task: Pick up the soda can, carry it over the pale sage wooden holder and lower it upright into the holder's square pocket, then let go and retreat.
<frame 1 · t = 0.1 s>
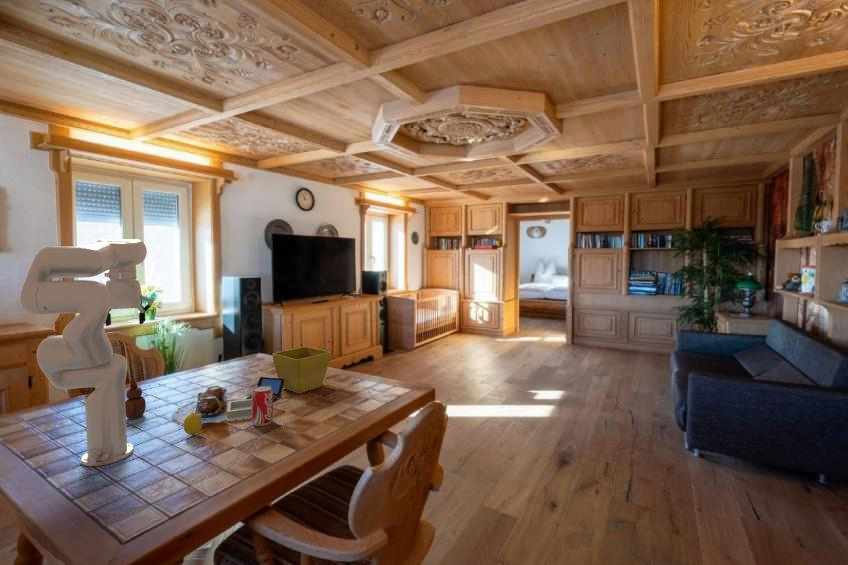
hand: (125, 324, 142), 37 cm above the table, tool pointing down, fingers open, 9 cm apart
flower pot: (302, 388, 186), on the table
lemon: (193, 436, 137), on the table
handheld game console: (265, 398, 174), on the table
soda can: (262, 423, 147), on the table
holder: (243, 413, 156), on the table
wooden figurine: (135, 417, 152), on the table
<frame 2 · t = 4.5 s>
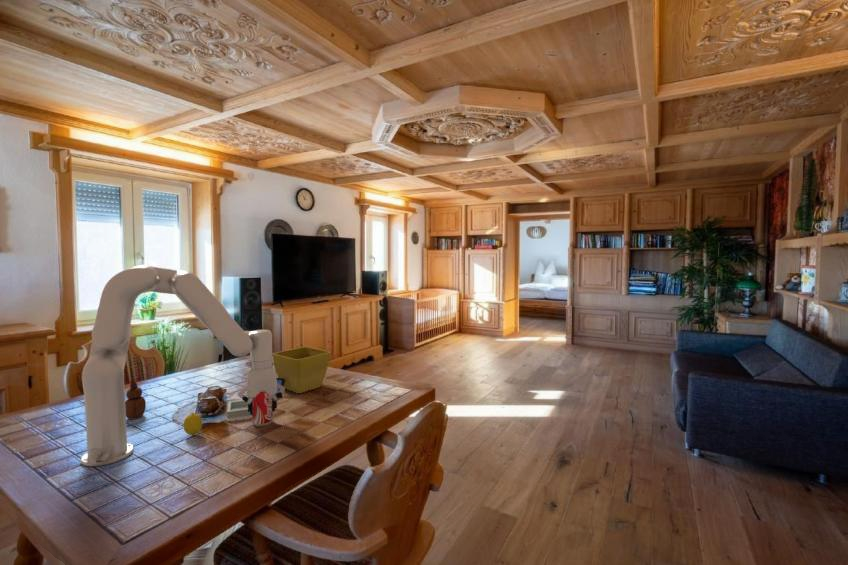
hand: (262, 411, 147), 4 cm above the table, tool pointing down, fingers closed on soda can, 7 cm apart
soda can: (262, 423, 147), on the table, touching gripper
everything else where it was.
when the fingers open (7 cm above the table, at t = 9.9 s): soda can drops 1 cm, resting on holder.
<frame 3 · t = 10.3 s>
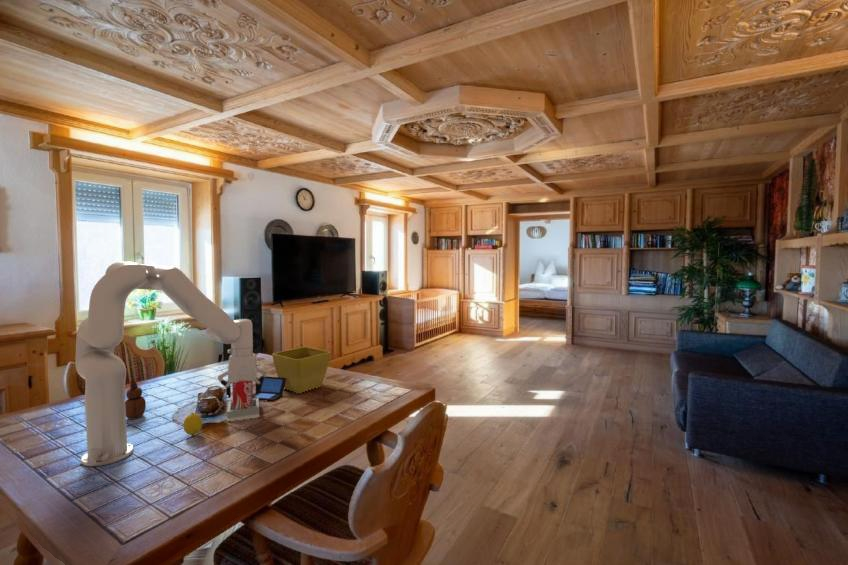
hand: (243, 395, 156), 7 cm above the table, tool pointing down, fingers open, 9 cm apart
soda can: (242, 411, 156), point 1 cm above the table, touching holder
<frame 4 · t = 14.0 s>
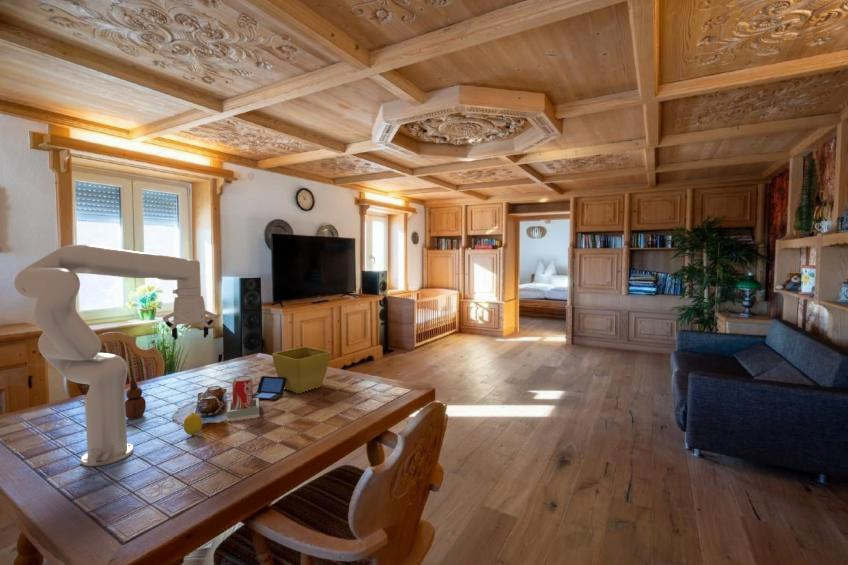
hand: (190, 338, 150), 30 cm above the table, tool pointing down, fingers open, 9 cm apart
at the end: soda can 0.3 cm from the holder (horizontally); soda can tilted 0°; soda can point 0.8 cm above the table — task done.
